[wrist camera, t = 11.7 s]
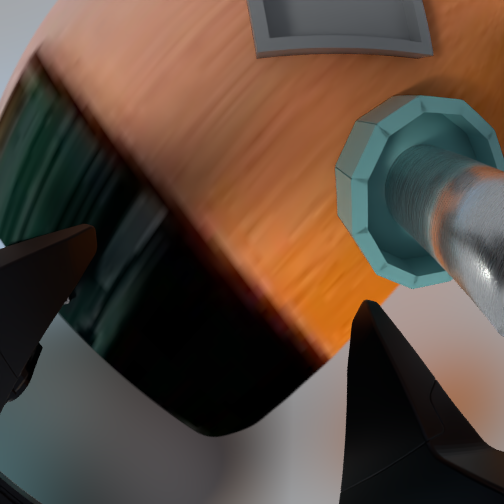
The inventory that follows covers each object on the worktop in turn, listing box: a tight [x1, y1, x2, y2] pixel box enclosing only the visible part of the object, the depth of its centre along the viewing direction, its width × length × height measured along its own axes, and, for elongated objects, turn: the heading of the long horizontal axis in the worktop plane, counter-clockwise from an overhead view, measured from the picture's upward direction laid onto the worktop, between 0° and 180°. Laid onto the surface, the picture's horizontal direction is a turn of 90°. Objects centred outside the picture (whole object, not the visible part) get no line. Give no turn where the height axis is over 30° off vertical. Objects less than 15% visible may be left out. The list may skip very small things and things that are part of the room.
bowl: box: [335, 95, 504, 289], centre depth 18 cm, size 13×13×4 cm
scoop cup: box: [385, 144, 504, 337], centre depth 13 cm, size 6×6×13 cm
